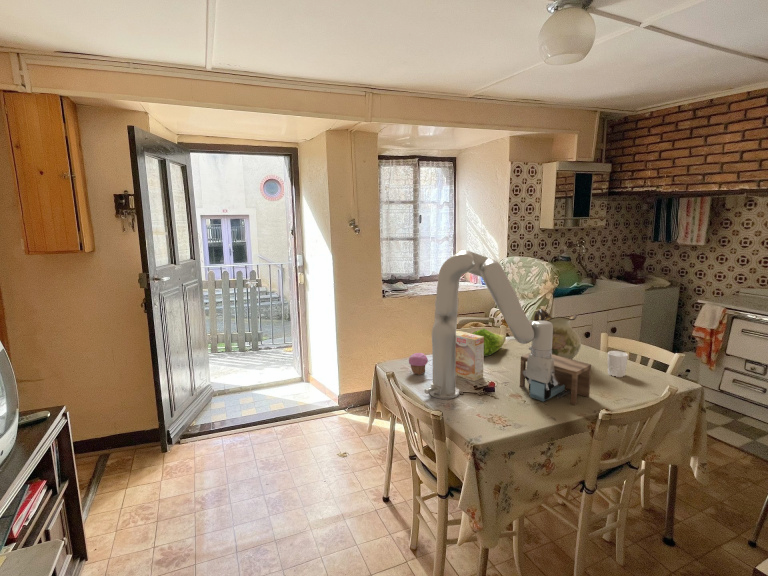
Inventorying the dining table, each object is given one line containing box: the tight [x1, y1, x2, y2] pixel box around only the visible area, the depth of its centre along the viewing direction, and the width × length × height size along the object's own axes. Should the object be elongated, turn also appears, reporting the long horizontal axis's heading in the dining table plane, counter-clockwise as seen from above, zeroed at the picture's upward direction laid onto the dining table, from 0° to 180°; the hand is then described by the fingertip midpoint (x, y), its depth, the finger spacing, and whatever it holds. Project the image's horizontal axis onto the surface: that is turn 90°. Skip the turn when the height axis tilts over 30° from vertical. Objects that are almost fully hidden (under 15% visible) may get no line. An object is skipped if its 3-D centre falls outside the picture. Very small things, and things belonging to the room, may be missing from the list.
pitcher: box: [533, 308, 582, 360], centre depth 207 cm, size 22×24×25 cm
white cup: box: [607, 350, 629, 378], centre depth 189 cm, size 8×8×10 cm
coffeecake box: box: [456, 330, 485, 382], centre depth 191 cm, size 15×7×20 cm, turn 42°
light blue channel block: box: [529, 380, 566, 403], centre depth 170 cm, size 16×6×7 cm, turn 129°
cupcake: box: [408, 352, 429, 376], centre depth 195 cm, size 9×9×10 cm
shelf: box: [519, 352, 592, 406], centre depth 172 cm, size 12×24×14 cm, turn 39°
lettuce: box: [471, 328, 506, 357], centre depth 224 cm, size 14×24×15 cm
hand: (539, 395), depth 167 cm, fingers closed on light blue channel block, 6 cm apart
